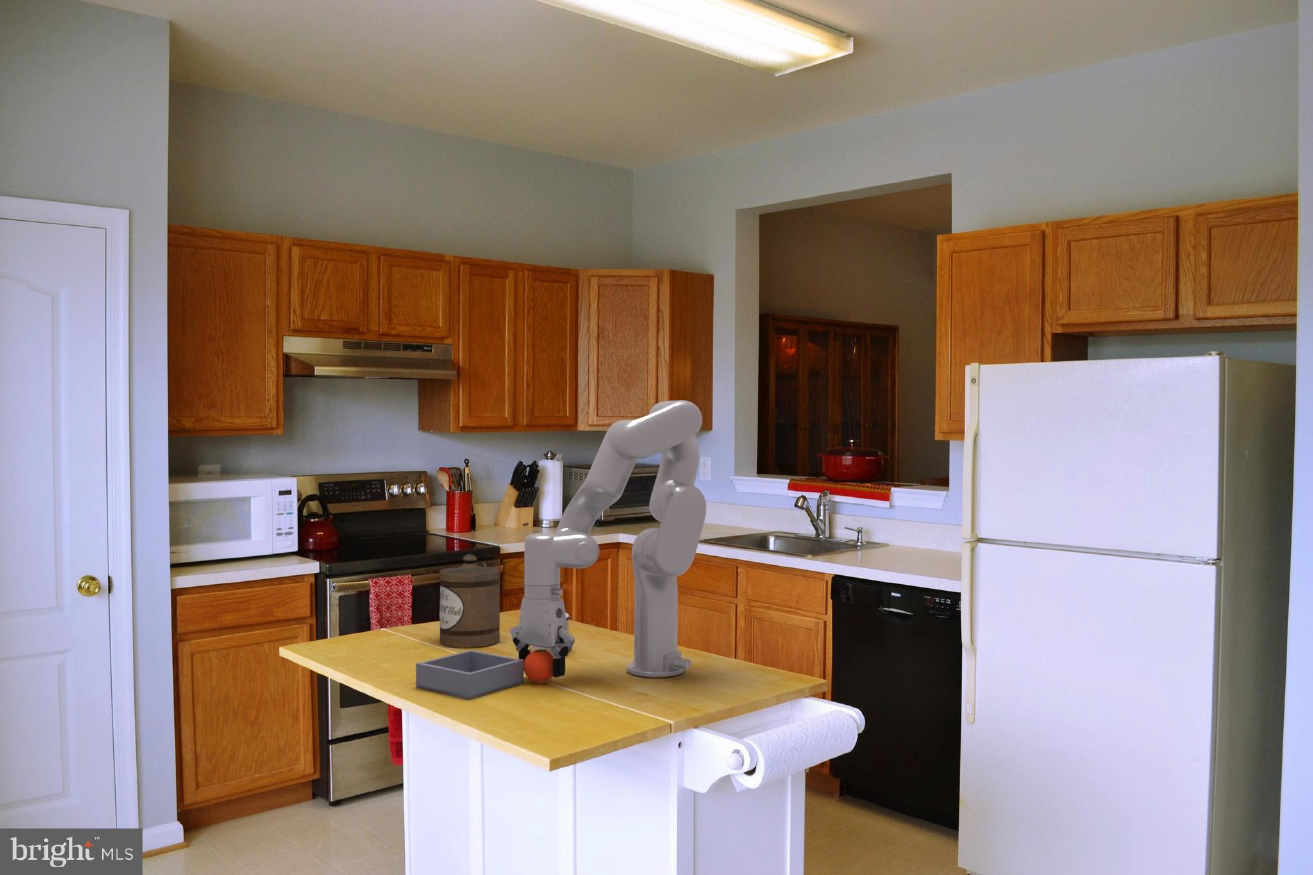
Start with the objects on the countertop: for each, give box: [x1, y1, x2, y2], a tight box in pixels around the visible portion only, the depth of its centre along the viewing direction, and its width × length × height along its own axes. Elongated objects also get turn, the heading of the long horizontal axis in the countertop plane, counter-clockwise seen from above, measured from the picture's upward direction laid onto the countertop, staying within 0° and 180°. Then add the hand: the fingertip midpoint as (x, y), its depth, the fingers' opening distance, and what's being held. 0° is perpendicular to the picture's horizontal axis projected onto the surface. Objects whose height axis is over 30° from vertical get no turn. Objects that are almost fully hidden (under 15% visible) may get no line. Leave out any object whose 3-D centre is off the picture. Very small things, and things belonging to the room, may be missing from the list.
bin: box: [415, 649, 525, 700], centre depth 208 cm, size 16×16×5 cm
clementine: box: [524, 649, 555, 684], centre depth 211 cm, size 8×7×7 cm
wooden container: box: [439, 553, 501, 649], centre depth 250 cm, size 15×15×22 cm
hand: (541, 672), depth 211 cm, fingers open, 9 cm apart
